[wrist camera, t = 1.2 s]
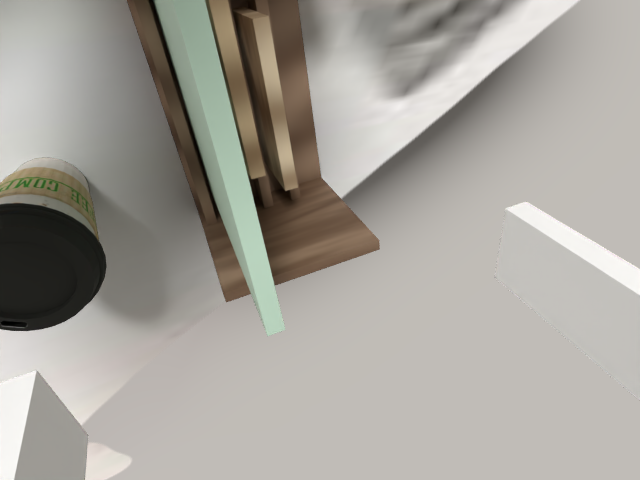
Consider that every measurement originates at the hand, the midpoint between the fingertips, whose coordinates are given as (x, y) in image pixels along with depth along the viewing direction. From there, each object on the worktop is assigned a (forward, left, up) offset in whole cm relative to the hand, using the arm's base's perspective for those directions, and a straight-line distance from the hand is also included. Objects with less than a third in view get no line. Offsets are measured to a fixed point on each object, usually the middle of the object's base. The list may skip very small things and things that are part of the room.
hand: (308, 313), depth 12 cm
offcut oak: (-2, +3, -33) cm, 33 cm away
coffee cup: (+8, -14, -35) cm, 38 cm away
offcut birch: (+3, +6, -33) cm, 34 cm away
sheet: (0, 0, -33) cm, 33 cm away
